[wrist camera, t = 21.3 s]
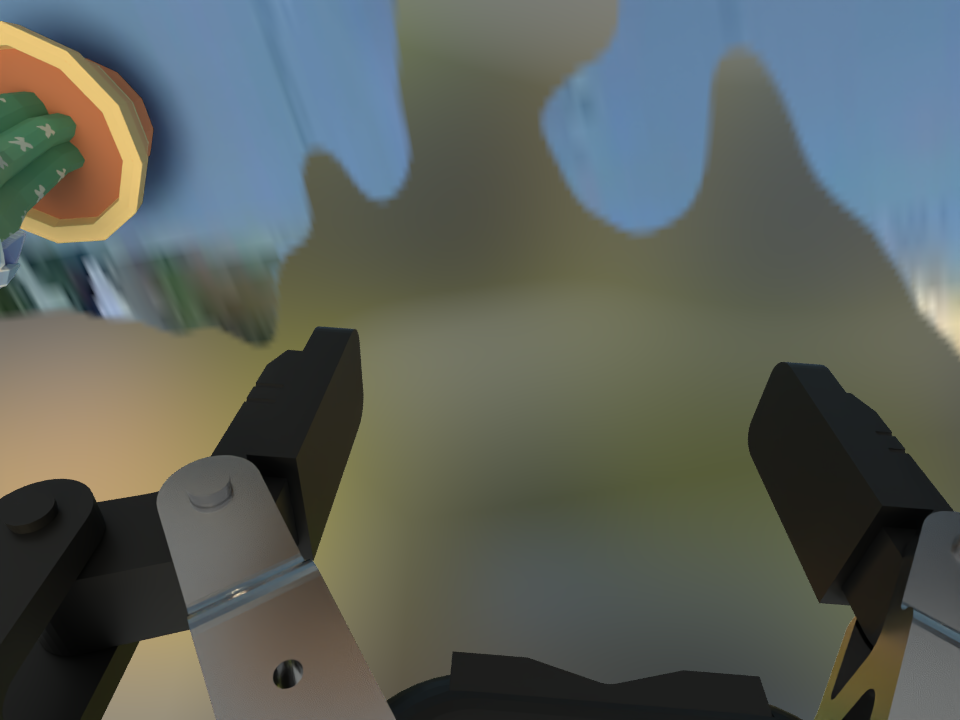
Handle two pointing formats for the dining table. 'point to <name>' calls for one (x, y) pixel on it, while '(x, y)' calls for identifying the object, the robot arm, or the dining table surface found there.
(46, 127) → the potted cactus
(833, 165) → the dining table surface
